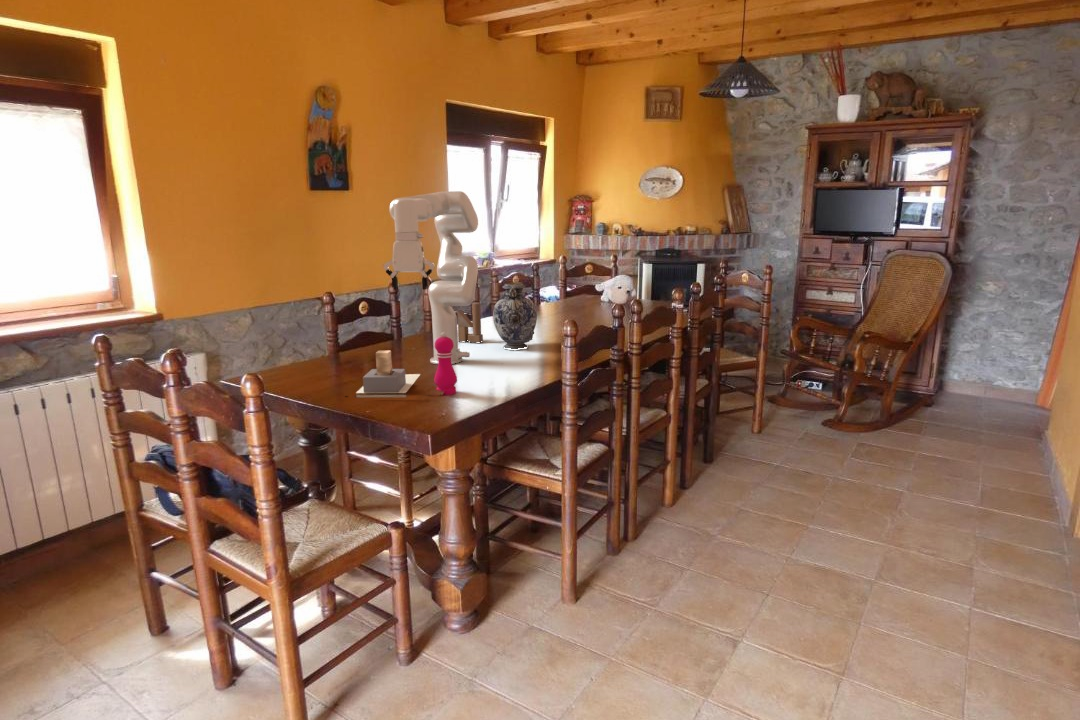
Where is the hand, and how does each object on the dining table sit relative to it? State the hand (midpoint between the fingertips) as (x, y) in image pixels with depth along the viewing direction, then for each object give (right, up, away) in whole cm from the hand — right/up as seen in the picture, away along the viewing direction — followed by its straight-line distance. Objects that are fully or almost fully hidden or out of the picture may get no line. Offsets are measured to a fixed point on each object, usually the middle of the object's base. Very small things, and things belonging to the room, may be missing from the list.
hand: (410, 289), depth 216 cm
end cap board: (-7, -33, 0) cm, 34 cm away
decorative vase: (+33, -19, +60) cm, 72 cm away
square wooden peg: (-7, -33, -6) cm, 34 cm away
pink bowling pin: (+13, -35, -7) cm, 38 cm away
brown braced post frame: (+12, -16, +74) cm, 76 cm away
